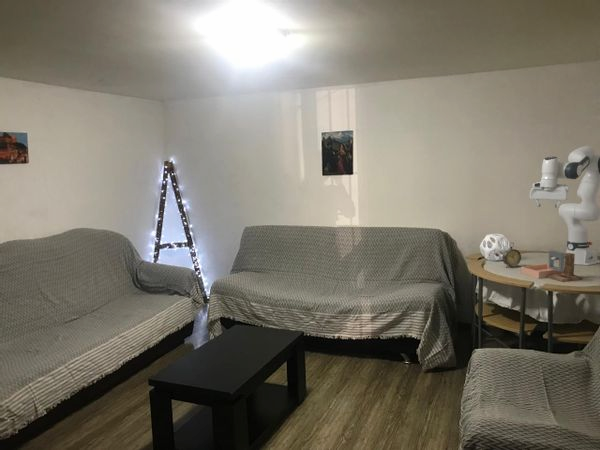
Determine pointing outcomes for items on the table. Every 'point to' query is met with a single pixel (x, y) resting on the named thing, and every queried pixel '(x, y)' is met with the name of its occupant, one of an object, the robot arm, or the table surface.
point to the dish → (539, 271)
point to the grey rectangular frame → (561, 260)
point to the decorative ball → (494, 246)
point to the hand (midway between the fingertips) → (547, 207)
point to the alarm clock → (511, 257)
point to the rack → (566, 269)
